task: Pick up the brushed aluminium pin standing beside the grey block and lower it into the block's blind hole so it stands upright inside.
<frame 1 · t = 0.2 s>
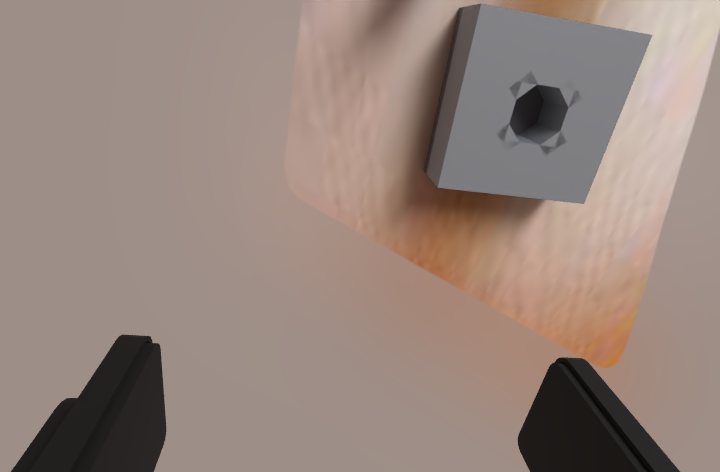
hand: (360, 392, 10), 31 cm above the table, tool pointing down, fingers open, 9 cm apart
bore block: (512, 106, 38), on the table
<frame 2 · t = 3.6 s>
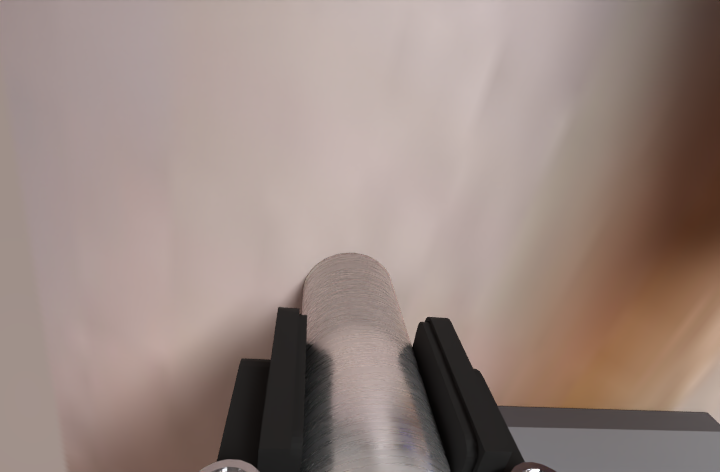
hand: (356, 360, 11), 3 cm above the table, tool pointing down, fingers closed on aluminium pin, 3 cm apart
aluminium pin: (348, 292, 14), on the table, touching gripper
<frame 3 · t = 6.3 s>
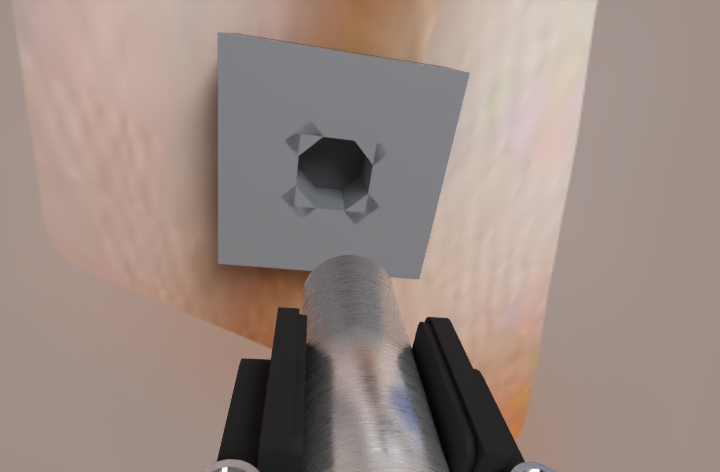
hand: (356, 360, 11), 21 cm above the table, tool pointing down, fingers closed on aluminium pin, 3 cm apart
aluminium pin: (347, 294, 14), point 18 cm above the table, touching gripper
bore block: (331, 154, 30), on the table
when the fingers open (6 cm above the table, at t = 9.1 s): aluminium pin drops 1 cm, resting on bore block.
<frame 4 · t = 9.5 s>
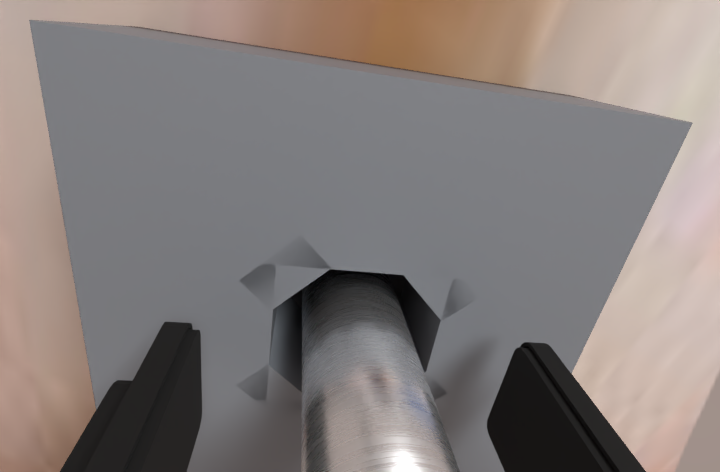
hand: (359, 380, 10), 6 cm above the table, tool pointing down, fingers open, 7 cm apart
aluminium pin: (343, 269, 15), point 1 cm above the table, touching bore block
bore block: (343, 256, 16), on the table
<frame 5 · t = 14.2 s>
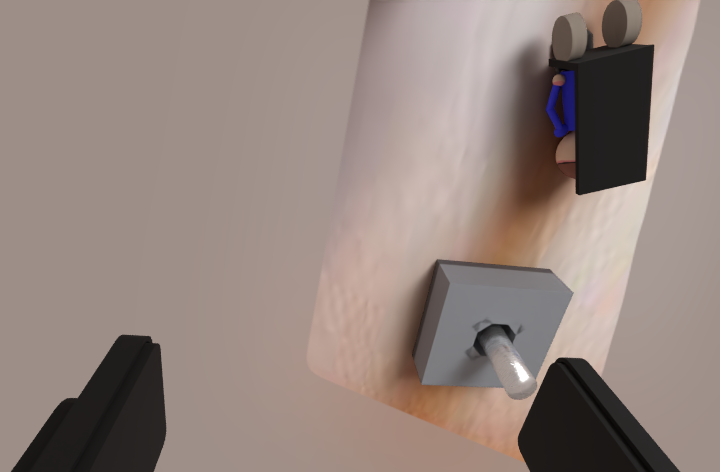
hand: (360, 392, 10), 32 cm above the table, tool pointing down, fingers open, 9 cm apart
aluminium pin: (480, 318, 49), point 1 cm above the table, touching bore block
bore block: (478, 313, 50), on the table
figurine character: (568, 96, 40), on the table
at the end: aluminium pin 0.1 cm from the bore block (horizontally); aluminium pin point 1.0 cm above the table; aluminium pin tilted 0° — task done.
